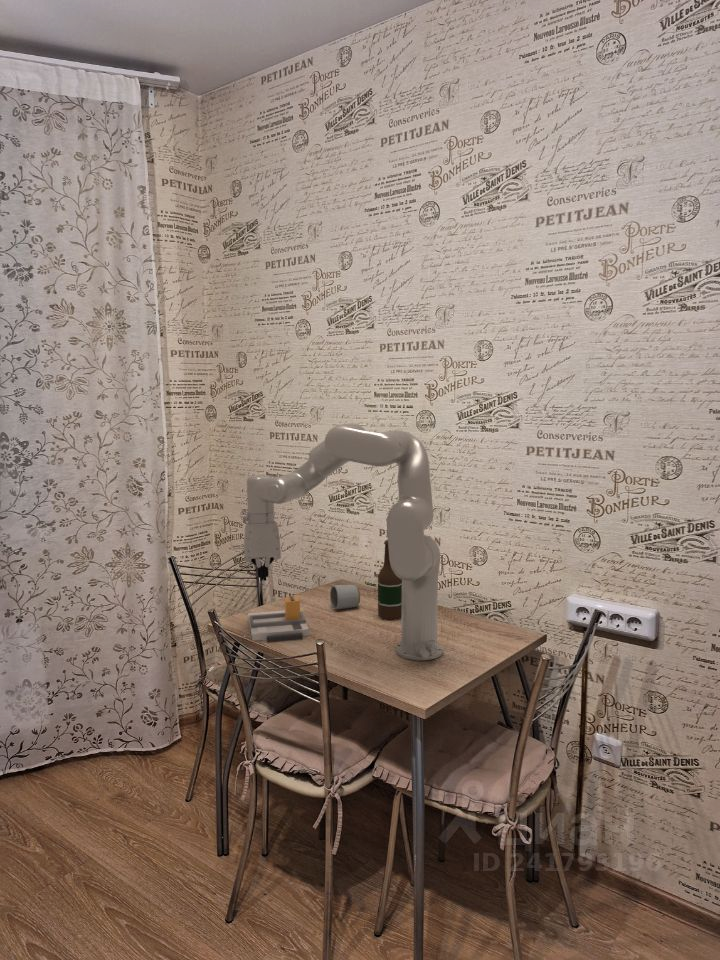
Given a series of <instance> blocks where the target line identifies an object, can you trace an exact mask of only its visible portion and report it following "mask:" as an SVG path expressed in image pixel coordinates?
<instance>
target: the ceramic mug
mask: <svg viewBox="0 0 720 960" xmlns="http://www.w3.org/2000/svg"><path fill="white" fill-rule="evenodd" d="M329 595H330V596H329V597H330V599H329V600H330V604H331V607H332V609H334V610H335V611H336V610H343V609H351V608H352V607H353V608H356V607H358V606H359V605H360V603H361V592H360V589H359V587H358V586H357V585H355V584H341V585H340V584H337V585H336V584H335V585H332V586H331V588H330V593H329Z"/></svg>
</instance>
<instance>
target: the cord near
mask: <svg viewBox="0 0 720 960" xmlns="http://www.w3.org/2000/svg"><path fill="white" fill-rule="evenodd" d="M303 639H304V636H303V634H302V633H294V634H283V635H272V636H267V640H266V642H267V643H277V642H279V643H280V642H287V641H301V640H303Z"/></svg>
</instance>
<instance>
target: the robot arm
mask: <svg viewBox="0 0 720 960" xmlns="http://www.w3.org/2000/svg"><path fill="white" fill-rule="evenodd" d="M308 458H309V459H308V460H307V461H306V462H305V463H303V464H302V465H300V466H299V467H298V468H296V469H295V470H294V471H292V472H290V473H286V474H282V475H280V476H275V477H273V476H271V475H268V474H254V475H250V476H248V477H247V479H246V496H247V498H246V502H247V503H246V505H247V513H245V514H242V520H245V521H246V523H245V525H244V526H245V527H244V538H243V540H244V541H243V544H244V545H243V548H244V550H243V551H244V556H243V561H244V562H247V563H252V564H253V565H255V567H256V568H257V569H256V570H257V578H258V579H260V582H263V581H264V582H265V581H266V582H267V578H268V577H269V567H270V565H271V564H272V563H274V561H277V560H280V559H281V558H282V555H281V538H280V531H279V525H278V522H277V521H275V504H276V505H277V504H279V505H281V504H285V503H288V502H290V501H294V500H296V499H300V498H302V497H303V496H304V495H306V494H307V493H309V492H311V491H312V490H313V489H315V488H316V487H318V486H319V485H320V484H321V483H322V482H324V481H325V480H326V479H327V478H328V477H329V476H330V475H332V474H333V473H334V472H336V471H337V470H338V469H340V468H342V467H343V466H344V465H345V464H347V463H349V462H353V463H358V464H362V465H367V466H374V467H381V468H382V467H388V466H391V465H393V464H397V468H398V471H397V488H398V489H397V491H398V501H397V502H396V503H395V504H393V505H392V506H391V507H390V509H389V511H388V514H387V517H386V533H387V535H386V536H387V540H388V548H389V559H390V565H391V568H392V570H393V572H394V573H395V575H396V576H397V577H399V578H400V579H402V617H401V642H399V643H397V644H396V646H395V653H396V654H397V656H399V657H401V658H403V659H407V660H410V661H411V660H412V661H419V662H420V661H422V662H423V661H430V660H435V659H438V658H439V657H441V656H442V655H443V653H444V647H443V646H442V645H441V644H440V643H438V596H439V595H438V591H439V590H438V589H439V587H438V586H439V573H440V563H441V551H440V548H439V545H438V543H437V541H436V540H434V539H433V538H432V537H431V536H429V535H425V530H426V529H428V528H429V527H430V526H431V524H432V522H433V520H434V506H433V505H434V504H433V494H432V493H433V492H432V483H431V474H430V462H429V456H428V453H427V450H426V448H425V446H424V445H423V442H422V441H421V440H420V439H419V438H418V437H416V436H415V435H414V434H412V433H410V432H407V431H404V430H399V429H397V430H396V429H393V430H392V429H391V430H387V431H384V432H383V431H382V432H375V431H370V430H369V431H368V430H366V429H365V427H363V426H362V425H359V424H357V423H354V422H353V423H345V424H338V425H335V426H333V427H332V428H331V429H329V430H328V431H327V432H326V435H325V438H324V440H323V441H321V442H320V443H318V444H317V445H316V446H314V447H313V448H312V449H311V450H310V451H309V453H308ZM261 559H264V560H263V561H264V562H263V565H262V562H261Z"/></svg>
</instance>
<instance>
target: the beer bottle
mask: <svg viewBox="0 0 720 960" xmlns="http://www.w3.org/2000/svg"><path fill="white" fill-rule="evenodd" d="M383 544H384V556H383V557H384V558H383V560H384V561H383V566H382V568H381V569H380V570H379V572H378V575H377V615H378V617H379V616H380V617H379V618H380V619H381V618H382V619H381V620H384V619H387V620H386V621H395V620H394V619H398V620H399V618H400V619H402V579H400V578H399V577H397V576H396V575H395V573H394V572H393V570H392V568H391V565H390V559H389V548H388V539H386V540H384V542H383Z"/></svg>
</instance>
